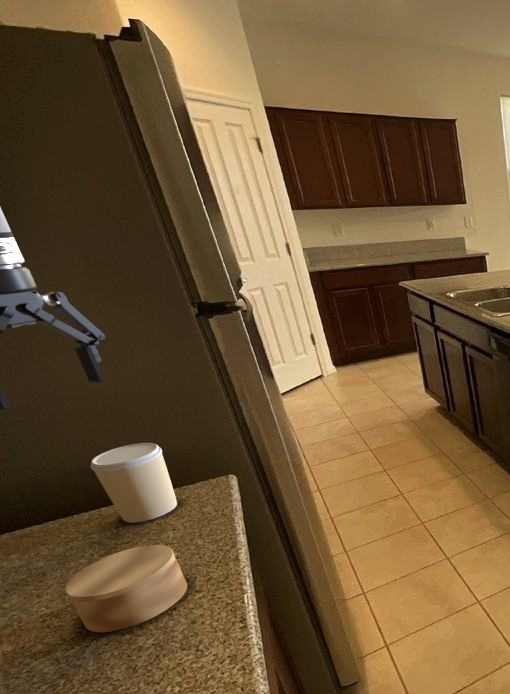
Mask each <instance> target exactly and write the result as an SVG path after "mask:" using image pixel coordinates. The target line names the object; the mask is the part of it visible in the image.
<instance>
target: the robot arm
mask: <svg viewBox="0 0 510 694" xmlns="http://www.w3.org/2000/svg"><path fill="white" fill-rule="evenodd" d="M25 262H26V260H25V258H24V256H23V253H22V252H21V250H20V248H19V246H18V243H17V241H16V239H15V237H14V235H13V232H12V230H11V228H10V225H9V223H8V221H7V219H6V217H5V215H4V211H3V209H2V208H1V206H0V335H1V334H3V333H4V332H5V330H6V329H14V328H20V327H22V326H25V325H26V326H27V325H28V326H31V325H32V326H33V325H37V324H39V325H41V326H44V327H45V328H48V329H49V330H51V331H53V332H55V333H56V334H59V335H61V336H62V337H64V338H65V339H68V340H70V341H72V342H73V343H75V344H76V345H78V346H75V347H73V348H74V350H75V353H76V356H77V357H78V359H79V362H80V364H81V366H82V368H83V370H84V371H83V372H84V373H85V375H86V377H87V379H88V382H89V383H90V382H91V383H103V382H106V379H105V377H104V374H103V372H102V370H101V367H100V365H99V363H101V362H102V358H101V356H100V354H99V353H100V352H99V351H98V348H97V346H99V345H100V341H102V340H105V339H106V335H105V333H104V332H102V331H101V330H100V329H99V328H97V327H96V325H94V323H92V321H90V320H89V319H88V318H86V316H84V315H83V314H82V313H81V312H80V311H78V310H77V309H76V308H75V307H74V306H73V305H72V304H70V302H69V300H68V298H67V296H66V295H65V294H64V292H61V291H46V292H45V294H40V292H38V289H37V288H38V287H37V284H36V282H35V280H34V277H33V275H32V273H31V270H30V269H29V268H27V266H22V264H24V263H25ZM46 304H47V306H50V307H52V308H53V309H54V310H55V311H56V312H57V313H58V314H60V315H61V316H62V317H63V318H64V319H66V320H67V321H68V322H69V323H70V324H71V325H72V326H73V327H72V326H70V325H68V324H67V323H64V322H63V321H61V320H59V319H57V317H55V316H54V315H52V314H51V313H48V312H47V311H45V310H44V309H45V306H46ZM74 327H75V328H74ZM8 409H11V405H10V404H9V401H8V399H7V398H6V396H5V393H4V391H3V390H2V388H1V387H0V410H8Z"/></svg>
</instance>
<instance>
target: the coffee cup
mask: <svg viewBox="0 0 510 694" xmlns="http://www.w3.org/2000/svg"><path fill="white" fill-rule="evenodd" d="M162 449H163V448H161V446H159V445H158V444H156V443H153V442H140V443H133V444H128V445H123V446H120V447H115V448H113V449H110V450H107V451H104V452H102V453H100V454H98V455H97V456H95V457H93V458H92V459H91V464H90V468H91V470H92V471H93V472H94V473H95V475H96V477H97V479H98V480H99V482H100V484H101V485H102V488H103V489H104V491H105V492H106V494H107V495H108V497H109V499H110V501H111V502H112V504H113V505H114V507H115V509H116V511H117V513H118V514H119V515H120V517H121V519H122V520H123V521H124V522H126V523H133V524H134V523H140V522H147V521H151V520H154V519H156V518H159V517H162V516H164V515H166V514H168V513H170V512H171V511H173V510H174V509H175V508H176V507H177V505H178V500H177V497H176V494H175V491H174V488H173V484H172V481H171V478H170V474H169V471H168V468H167V464H166V462H165V458H164V455H163V450H162Z"/></svg>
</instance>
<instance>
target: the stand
mask: <svg viewBox="0 0 510 694" xmlns="http://www.w3.org/2000/svg"><path fill="white" fill-rule="evenodd" d="M187 589H188V582H187V581H186V578H185V575H184V574H183V572H182V569H181V567H180V565H179V562H178V560H177V557H176V555H175V553H174V551H173V549H172V548H171V547H169V546H167V545H164V544H163V545H162V544H147V545H140V546H136V547H132V548H129V549H124V550H122V551H119V552H115V553H113V554H110V555H108V556H106V557H102V558H101V559H99V560H97V561H94V562H93V563H91V564H89V565H88V566H85V567H84V568H83V569H81V570H79V571H78V572H77V573H76V574H74V575H73V576H72V577H71V578H70V579H69V580H68V581H67V583H66V585H65V588H64V590H65V593H66V595H67V597H68V599H69V600H70V602H71V604H72V605H73V607H74V609H75V611H76V612H77V614H78V616H79V618H80V620H81V623H82V624H83V626H84V627H85V628H86V630H88V631H90V632H94V633H109V632H116V631H120V630H124V629H129V628H131V627H134V626H137V625H140V624H141V623H144V622H146V621H148V620H150V619H152V618H155V617H157V616H158V615H160V614H162V613H164V612H165V611H167V610H168V609H170V608H171V607H173V606H174V605H175V604H176V603H177V602H179V601H180V599H181V598H182V597H183V596H184V595H185V593H186V591H187Z"/></svg>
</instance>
